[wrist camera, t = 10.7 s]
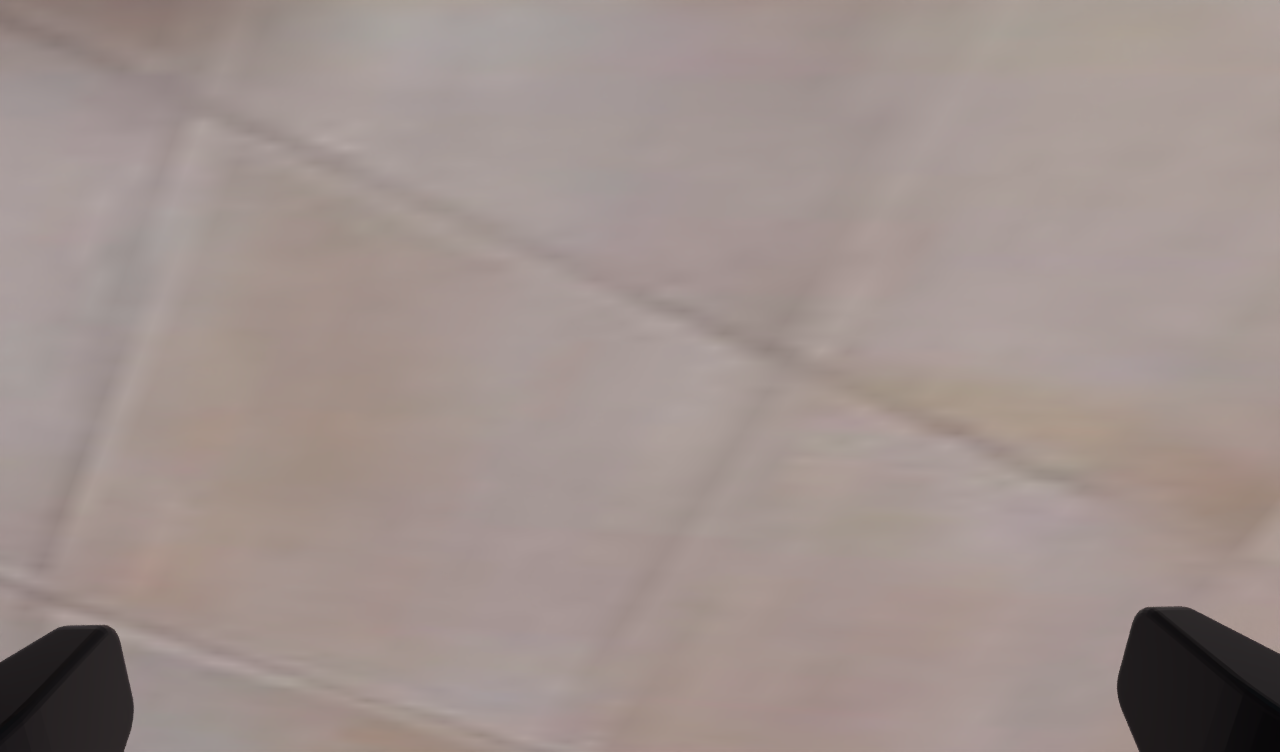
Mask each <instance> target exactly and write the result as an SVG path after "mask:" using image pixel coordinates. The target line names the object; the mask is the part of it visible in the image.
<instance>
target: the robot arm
mask: <svg viewBox="0 0 1280 752" xmlns="http://www.w3.org/2000/svg"><path fill="white" fill-rule="evenodd" d="M1117 693H1118V699H1119V703H1120V706H1121V709H1122V712H1123V714H1124V716H1125V719H1126V721H1127V724H1128V726H1129V728H1130V731H1131V733H1132V735H1133V738H1134V740H1135V743H1136V745H1137V747H1138V750H1139V752H1280V654H1279V653H1277V652H1275V651H1273V650H1271V649H1269V648H1267V647H1265V646H1263V645H1261V644H1260V643H1258V642H1256V641H1254V640H1252V639H1250V638H1248V637H1246V636H1244V635H1242V634H1240V633H1238V632H1236V631H1234V630H1232V629H1230V628H1228V627H1226V626H1224V625H1222V624H1221V623H1219V622H1217V621H1215V620H1213V619H1211V618H1209V617H1207V616H1205V615H1203V614H1201V613H1199V612H1197V611H1195V610H1193V609H1191V608H1187V607H1182V606H1174V607H1146V608H1144V609H1142V610H1140V611H1139V612H1138V613H1137V614H1136V616H1135V617H1134V620H1133V623H1132V626H1131V630H1130V634H1129V637H1128V641H1127V645H1126V649H1125V652H1124V656H1123V660H1122V663H1121V667H1120V671H1119V675H1118V680H1117ZM133 713H134V705H133V697H132V693H131V688H130V684H129V679H128V675H127V670H126V666H125V661H124V657H123V652H122V648H121V643H120V640H119V637H118V635H117V633H116V631H115V630H114V629H113V628H111V627H109V626H107V625H71V626H63V627H59V628H57V629H55V630H53V631H52V632H50V633H48V634H47V635H45V636H43V637H42V638H40V639H38V640H37V641H35V642H33V643H32V644H30V645H28V646H27V647H25V648H23V649H22V650H20V651H18V652H17V653H15V654H13V655H12V656H10V657H8V658H7V659H5V660H3V661H2V662H0V752H124V749H125V746H126V743H127V740H128V737H129V734H130V731H131V727H132V722H133Z"/></svg>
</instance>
